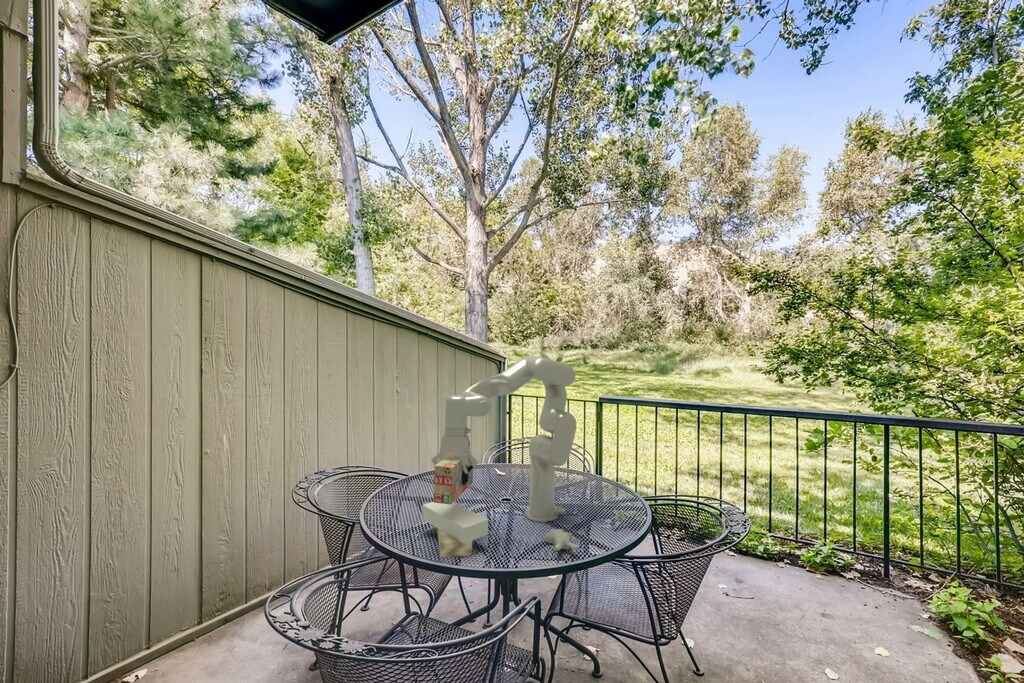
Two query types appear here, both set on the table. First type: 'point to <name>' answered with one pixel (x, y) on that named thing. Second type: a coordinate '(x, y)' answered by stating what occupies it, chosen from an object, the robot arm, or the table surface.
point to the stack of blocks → (450, 481)
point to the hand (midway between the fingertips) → (453, 483)
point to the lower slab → (452, 546)
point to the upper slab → (455, 521)
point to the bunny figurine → (560, 539)
